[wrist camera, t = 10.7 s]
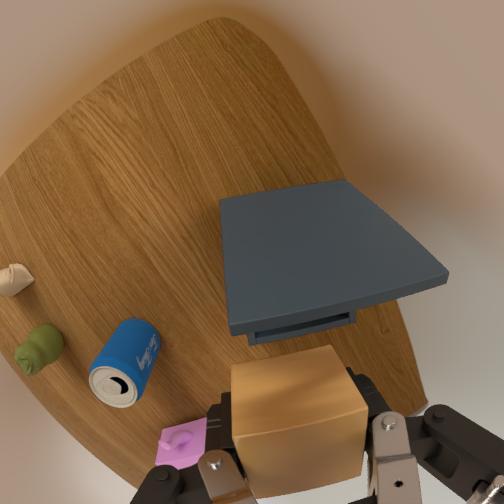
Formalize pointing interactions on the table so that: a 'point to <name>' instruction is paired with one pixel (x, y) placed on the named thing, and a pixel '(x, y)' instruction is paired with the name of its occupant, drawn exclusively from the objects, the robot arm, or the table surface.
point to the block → (297, 422)
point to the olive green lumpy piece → (39, 349)
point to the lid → (315, 256)
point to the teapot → (182, 444)
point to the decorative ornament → (14, 279)
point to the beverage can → (125, 363)
